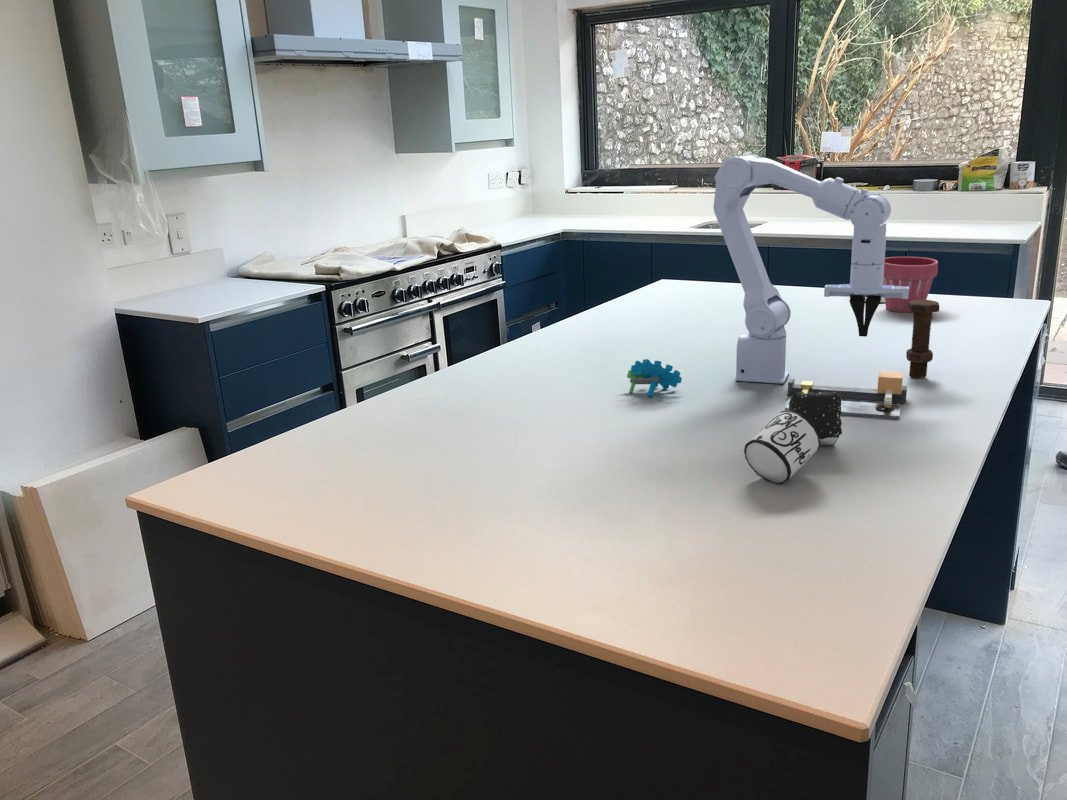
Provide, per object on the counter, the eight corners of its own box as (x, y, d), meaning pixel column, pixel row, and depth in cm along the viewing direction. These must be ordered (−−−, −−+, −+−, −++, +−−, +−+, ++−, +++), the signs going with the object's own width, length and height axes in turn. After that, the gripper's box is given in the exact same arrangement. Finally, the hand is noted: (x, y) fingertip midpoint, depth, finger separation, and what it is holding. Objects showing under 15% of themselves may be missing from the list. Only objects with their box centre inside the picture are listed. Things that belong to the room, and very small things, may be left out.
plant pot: (943, 313, 224) (948, 263, 220) (887, 316, 224) (891, 265, 220) (920, 302, 237) (924, 255, 233) (868, 304, 238) (871, 257, 234)
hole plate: (784, 410, 158) (784, 406, 157) (789, 400, 163) (790, 396, 163) (899, 419, 150) (899, 415, 150) (900, 408, 156) (900, 404, 155)
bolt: (934, 381, 169) (941, 305, 165) (906, 381, 170) (912, 305, 166) (928, 373, 175) (934, 299, 170) (901, 373, 176) (906, 299, 171)
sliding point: (874, 407, 153) (876, 386, 152) (878, 390, 162) (879, 370, 161) (899, 409, 152) (901, 388, 151) (901, 392, 161) (903, 372, 160)
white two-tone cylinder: (804, 498, 122) (807, 431, 119) (736, 485, 128) (737, 420, 125) (854, 441, 142) (858, 382, 139) (794, 432, 147) (796, 375, 144)
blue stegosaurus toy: (691, 382, 172) (669, 355, 165) (683, 408, 169) (661, 382, 162) (642, 382, 178) (619, 357, 172) (634, 408, 176) (611, 383, 169)
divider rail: (782, 406, 160) (782, 392, 159) (789, 391, 168) (790, 378, 167) (904, 415, 152) (905, 401, 151) (906, 399, 160) (907, 385, 159)
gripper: (823, 265, 160) (820, 338, 164) (910, 266, 154) (904, 342, 158) (827, 259, 166) (824, 329, 170) (911, 260, 160) (905, 333, 164)
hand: (863, 335), depth 165 cm, fingers closed
